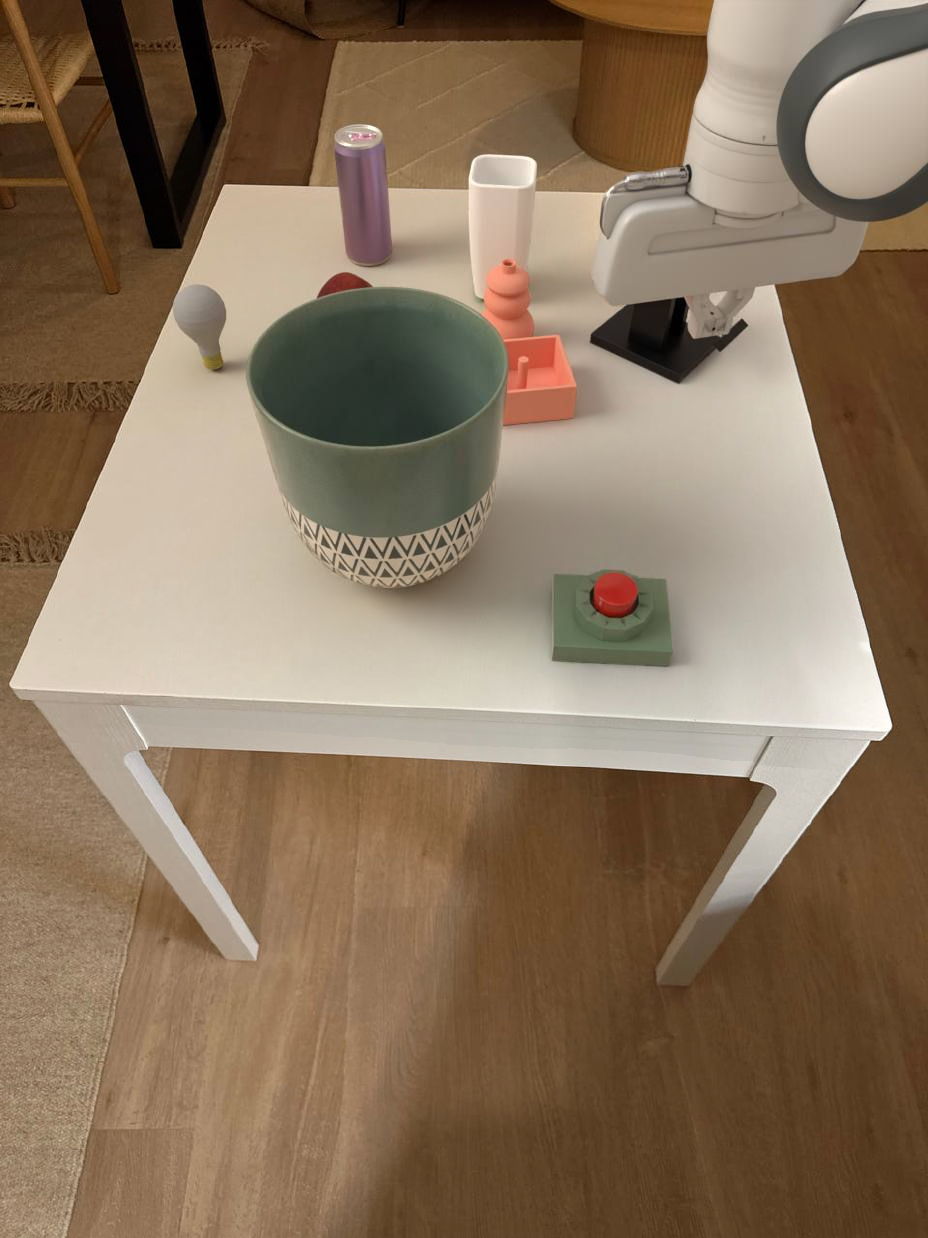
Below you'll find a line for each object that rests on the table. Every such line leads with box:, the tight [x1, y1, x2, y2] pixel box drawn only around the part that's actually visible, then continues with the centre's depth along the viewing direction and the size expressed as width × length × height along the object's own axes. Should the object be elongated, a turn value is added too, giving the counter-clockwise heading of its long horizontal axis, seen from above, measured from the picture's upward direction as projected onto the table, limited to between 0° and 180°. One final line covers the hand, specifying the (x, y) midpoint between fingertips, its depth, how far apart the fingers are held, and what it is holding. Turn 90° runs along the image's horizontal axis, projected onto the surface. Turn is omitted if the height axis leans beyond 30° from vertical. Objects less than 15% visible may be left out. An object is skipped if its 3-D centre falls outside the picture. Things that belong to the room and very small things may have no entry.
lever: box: [701, 299, 749, 353], centre depth 97 cm, size 12×5×2 cm, turn 50°
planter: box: [245, 286, 509, 589], centre depth 76 cm, size 20×20×21 cm
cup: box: [468, 153, 538, 301], centre depth 105 cm, size 7×7×15 cm
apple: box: [315, 271, 374, 299], centre depth 102 cm, size 7×8×8 cm
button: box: [593, 572, 638, 617], centre depth 76 cm, size 4×4×2 cm
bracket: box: [589, 297, 722, 384], centre depth 100 cm, size 12×9×12 cm
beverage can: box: [333, 123, 393, 267], centre depth 110 cm, size 6×6×15 cm
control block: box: [551, 568, 674, 667], centre depth 78 cm, size 10×8×4 cm
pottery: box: [480, 259, 578, 426], centre depth 97 cm, size 18×10×10 cm, turn 8°
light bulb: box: [172, 283, 227, 370], centre depth 98 cm, size 6×6×10 cm
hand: (707, 332), depth 73 cm, fingers closed
